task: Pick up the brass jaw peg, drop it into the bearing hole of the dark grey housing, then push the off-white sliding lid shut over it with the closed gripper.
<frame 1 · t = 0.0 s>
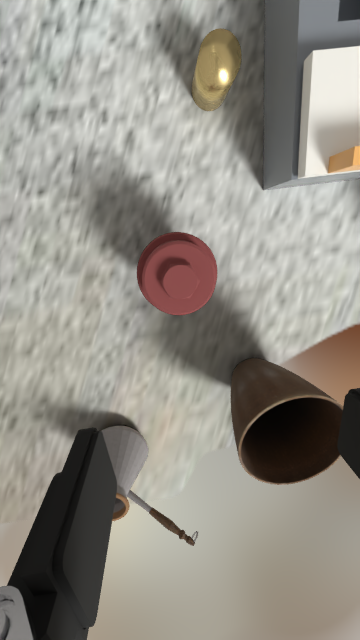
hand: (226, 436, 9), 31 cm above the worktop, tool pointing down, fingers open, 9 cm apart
jaw peg: (209, 89, 30), on the worktop
plant pot: (251, 373, 46), on the worktop
coffee pot: (142, 446, 51), on the worktop
mechanical component: (173, 265, 38), on the worktop
housing: (321, 35, 29), on the worktop
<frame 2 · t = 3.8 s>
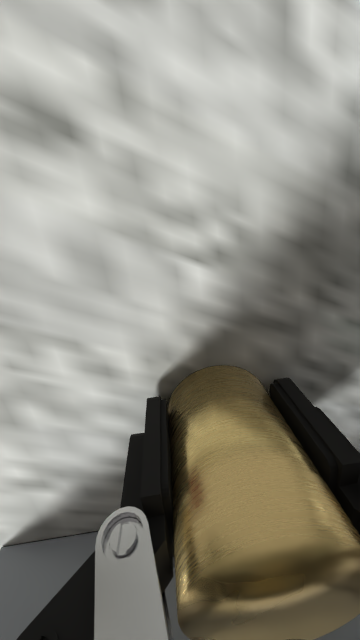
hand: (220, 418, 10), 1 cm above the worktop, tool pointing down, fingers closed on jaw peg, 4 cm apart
jaw peg: (217, 408, 11), on the worktop, touching gripper
housing: (290, 569, 16), on the worktop
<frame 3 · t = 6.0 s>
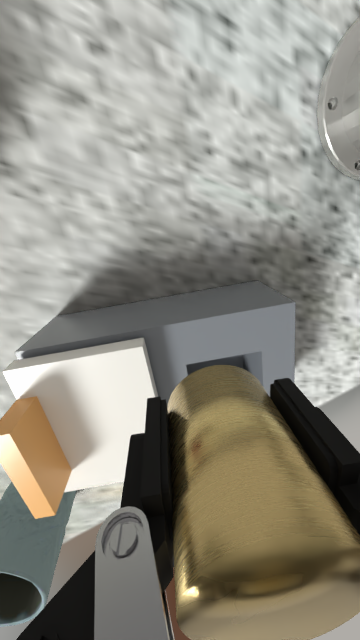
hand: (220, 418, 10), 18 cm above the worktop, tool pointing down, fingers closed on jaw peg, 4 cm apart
jaw peg: (217, 408, 11), point 17 cm above the worktop, touching gripper
lid: (95, 438, 19), point 11 cm above the worktop, slide at 11.0 cm
blue-grey cup: (46, 480, 35), on the worktop
housing: (210, 346, 29), on the worktop
when the fingers open (9 cm above the worktop, at t = 8.3 s): jaw peg drops 6 cm, resting on housing.
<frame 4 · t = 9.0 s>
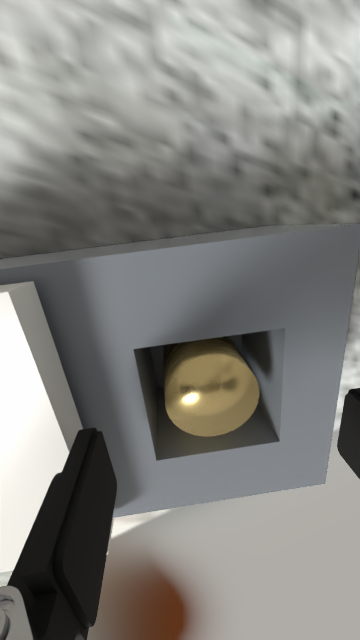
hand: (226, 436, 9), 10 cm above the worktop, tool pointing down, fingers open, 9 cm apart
jaw peg: (195, 342, 17), point 2 cm above the worktop, touching housing
housing: (192, 331, 19), on the worktop
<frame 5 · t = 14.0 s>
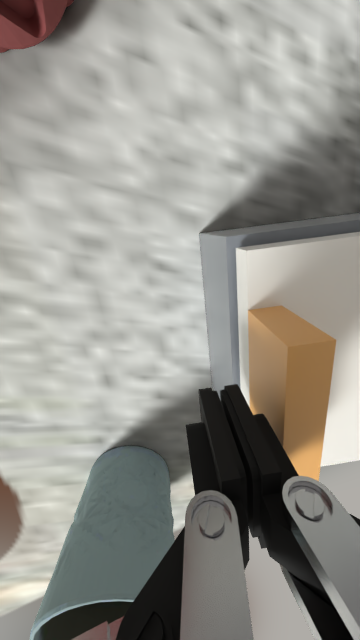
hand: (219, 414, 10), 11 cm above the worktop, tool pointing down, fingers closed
blue-grey cup: (129, 470, 27), on the worktop
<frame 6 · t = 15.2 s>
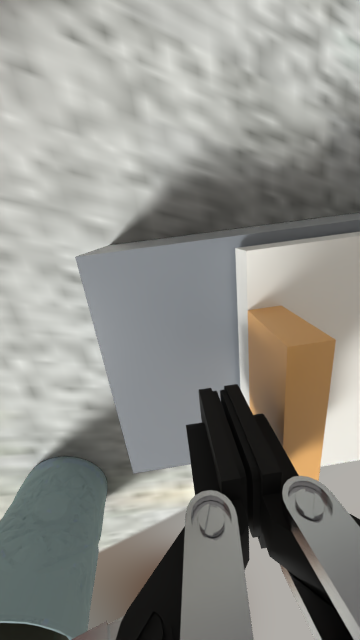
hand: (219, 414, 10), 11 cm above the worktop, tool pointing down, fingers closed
blue-grey cup: (67, 481, 27), on the worktop
housing: (307, 303, 22), on the worktop
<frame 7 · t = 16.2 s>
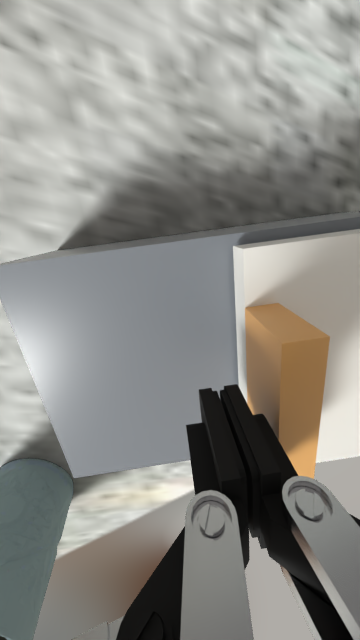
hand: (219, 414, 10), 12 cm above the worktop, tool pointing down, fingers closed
lid: (359, 380, 11), point 11 cm above the worktop, slide at -0.2 cm, touching gripper
blue-grey cup: (34, 482, 27), on the worktop
housing: (263, 307, 21), on the worktop
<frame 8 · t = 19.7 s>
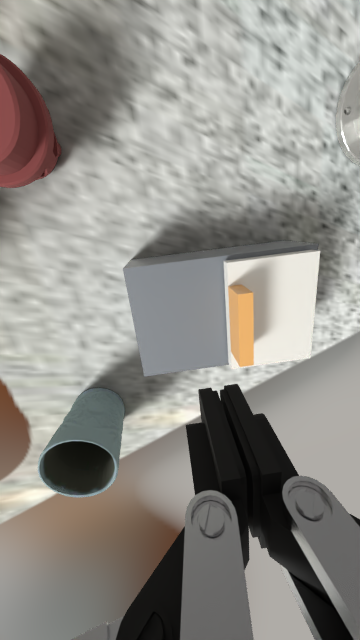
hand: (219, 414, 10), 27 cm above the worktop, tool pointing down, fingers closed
lid: (276, 317, 27), point 11 cm above the worktop, slide at 0.0 cm
blue-grey cup: (99, 405, 43), on the worktop
mechanical component: (33, 149, 29), on the worktop
housing: (244, 293, 37), on the worktop
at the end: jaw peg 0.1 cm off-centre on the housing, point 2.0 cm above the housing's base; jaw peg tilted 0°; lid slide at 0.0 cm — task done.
